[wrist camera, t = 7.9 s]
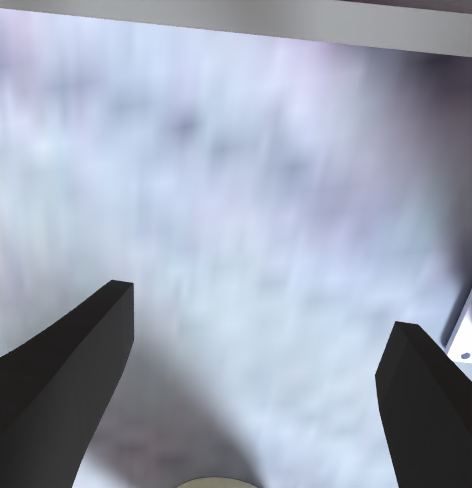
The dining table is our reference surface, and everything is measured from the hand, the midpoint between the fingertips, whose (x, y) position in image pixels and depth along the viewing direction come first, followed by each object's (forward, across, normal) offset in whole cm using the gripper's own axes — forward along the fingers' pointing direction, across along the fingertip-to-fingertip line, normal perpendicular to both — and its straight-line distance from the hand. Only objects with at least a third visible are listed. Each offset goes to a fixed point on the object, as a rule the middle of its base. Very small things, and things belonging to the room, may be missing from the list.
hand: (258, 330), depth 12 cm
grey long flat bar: (+10, 0, -8) cm, 13 cm away
